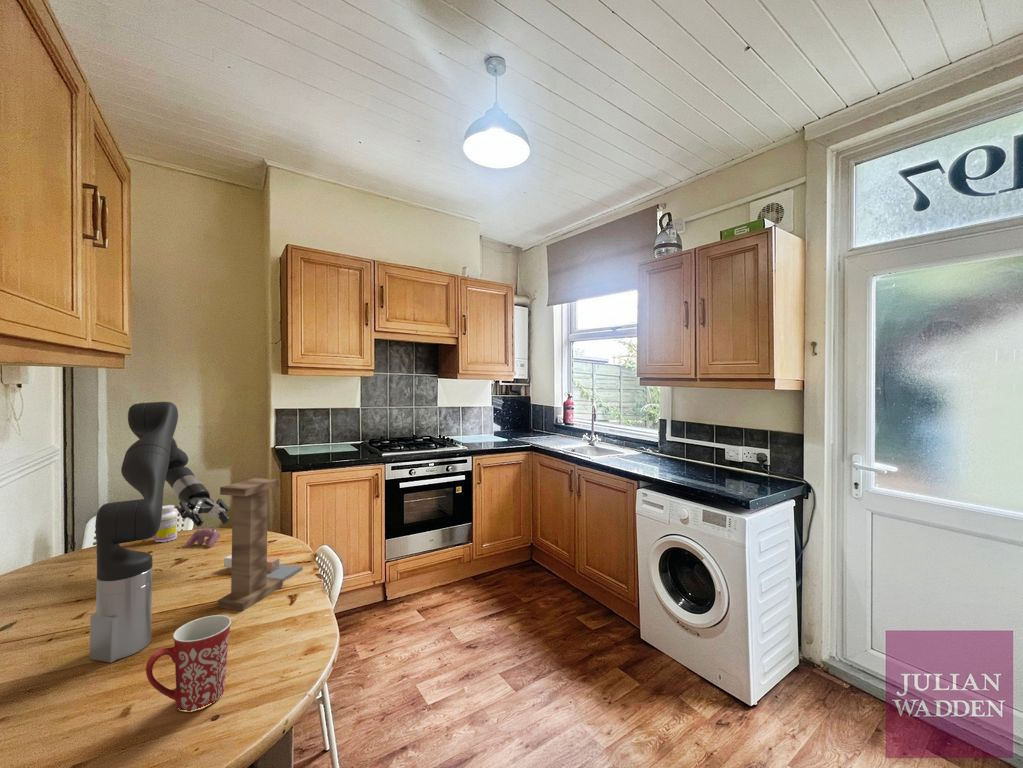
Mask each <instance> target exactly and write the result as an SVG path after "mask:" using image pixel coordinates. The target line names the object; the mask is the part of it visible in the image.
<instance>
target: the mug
mask: <svg viewBox="0 0 1023 768" xmlns="http://www.w3.org/2000/svg"><path fill="white" fill-rule="evenodd" d="M231 625H232V619H231V618H230V617H229V616H228V615H223V614H217V615H216V614H215V615H209V616H203V617H200V618H196V619H194V620H191V621H188V622H187V623H184V624H183V625H181V626H180V627H178V628H177V629H176V630H175V631H174V633H173V634H172V640H173V641H174V642H173V643H174V645H173V646H171V647H163V648H162V649H159V650H157V651H155V652H154V653H153V654H152V655H150V657H149V658H148V660H147V663H146V667H145V674H146V678H147V680H148V682H149V684H151V686H152V687H153V689H155V690H156V691H157V692H159V693H161V694H162V695H163V696H166V697H167V698H169V699H172V700H174V701H176V702H175V704H176V709H177V708H179V709H180V710H187V711H191V710H195V709H198V708H201V707H203V706H206V705H208V704H210V703H213V702H214V701H216V700H217V699H218V698H219V697H220V696H221V695H222V694H224V693H223V692H225V688H226V686H225V685H226V674H227V665H228V652H229V641H230V632H231V631H230V629H231ZM164 656H169V657H170V658H171V660H172V663H175V664H174V665H175V686H176V687H175V688H174V689H170V688H167V687H166V686H164V685H163V684H161V683H160V682H159V681H157V679H156V678H155V676H154V674H153V669H154V668H153V667H154V665H155V663H156V662H157V660H158V659H160V658H161V657H164ZM222 696H223V695H222ZM222 696H221V697H222ZM216 702H217V701H216Z"/></svg>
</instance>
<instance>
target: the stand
mask: <svg viewBox="0 0 1023 768" xmlns="http://www.w3.org/2000/svg"><path fill="white" fill-rule="evenodd" d="M279 483H280V479H277V478H263V477H255V478H251V479H247V480H243V481H239V482H235V483H232V484H228V485H224V486H220V487H219V489H220V490H219V495H222V496H232V511H231V513H232V516H231V518H232V519H231V520H232V521H231V554H232V568H230V569H231V571H230V572H231V573H230V574H231V576H230V577H231V578H230V579H231V580H230V583H231V584H230V586H231V587H230V593H228V594H226V595H224V596H223V597H221V598H219V599H218V600H217V608H218V609H219V608H220V609H226V610H227V609H228V610H235V611H240V610H241V612H244V611H245V610H247V609H248V608H251V607H252V606H254V605H255V604H257V603H258V602H260V601H262V600H263V599H265V598H266V597H268V596H270V595H271V594H273V593H274V592H275V591H277V590H279V589H281V588H282V587H283V585H284V581H283V579H275V578H267V558H268V518H269V517H268V516H269V515H268V514H269V511H268V510H269V509H268V507H269V500H268V499H269V496H268V495H269V490H270V489H274V488H277V487H279Z"/></svg>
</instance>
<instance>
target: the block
mask: <svg viewBox="0 0 1023 768" xmlns="http://www.w3.org/2000/svg"><path fill="white" fill-rule="evenodd" d="M279 564H280V558H279V557H271V556H267V572H270V573H272V572H274V571H275V570H277V569H279ZM223 568H229V569H232V553H231V554H229V555H227V556H225V557H223Z"/></svg>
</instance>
